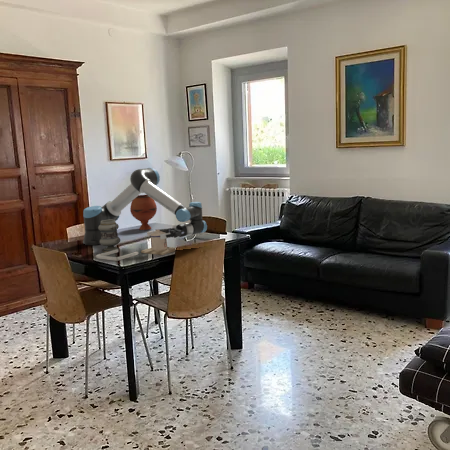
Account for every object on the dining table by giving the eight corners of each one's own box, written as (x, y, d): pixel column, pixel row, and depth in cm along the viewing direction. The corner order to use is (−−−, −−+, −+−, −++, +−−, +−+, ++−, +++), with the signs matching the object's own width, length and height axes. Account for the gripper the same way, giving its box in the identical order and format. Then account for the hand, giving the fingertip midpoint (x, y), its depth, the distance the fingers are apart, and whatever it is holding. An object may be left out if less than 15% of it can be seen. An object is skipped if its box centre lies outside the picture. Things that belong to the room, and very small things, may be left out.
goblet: (126, 230, 355) (124, 197, 351) (141, 226, 372) (139, 194, 368) (148, 231, 347) (146, 197, 343) (163, 227, 364) (160, 194, 360)
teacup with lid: (168, 250, 275) (166, 230, 273) (152, 252, 273) (149, 231, 271) (167, 245, 286) (165, 226, 284) (151, 247, 285) (149, 228, 283)
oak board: (141, 252, 279) (141, 250, 278) (157, 247, 290) (157, 245, 290) (162, 255, 270) (162, 253, 270) (178, 250, 281) (178, 247, 281)
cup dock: (87, 256, 274) (87, 254, 274) (109, 250, 288) (109, 248, 287) (116, 260, 261) (116, 258, 261) (138, 254, 275) (138, 251, 274)
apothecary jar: (100, 249, 294) (97, 219, 291) (120, 247, 297) (118, 218, 294) (100, 253, 283) (97, 222, 280) (121, 251, 285) (118, 221, 282)
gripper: (197, 238, 281) (166, 244, 267) (172, 233, 300) (142, 239, 286) (196, 225, 280) (165, 231, 266) (171, 221, 299) (141, 227, 285)
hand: (153, 235), depth 276 cm, fingers open, 13 cm apart
